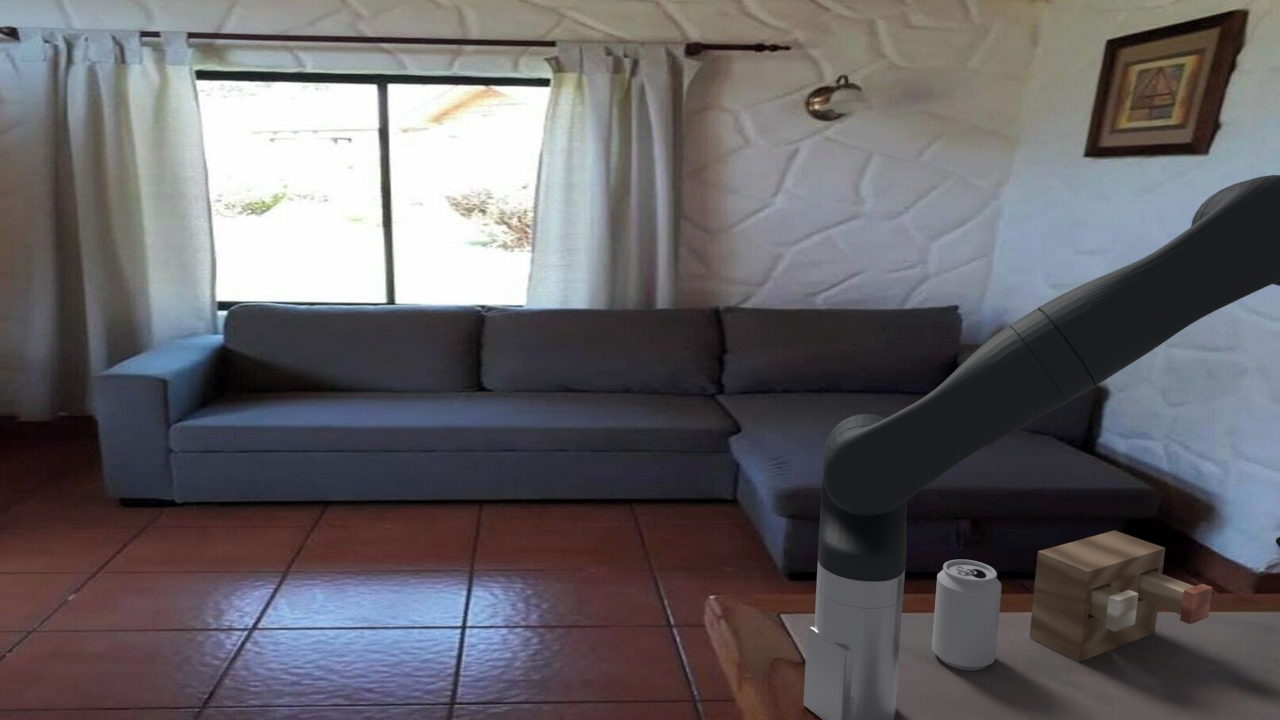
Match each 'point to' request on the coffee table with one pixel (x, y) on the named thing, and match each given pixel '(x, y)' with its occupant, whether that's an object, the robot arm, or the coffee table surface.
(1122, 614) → the key cream
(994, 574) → the can
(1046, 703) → the coffee table surface
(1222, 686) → the coffee table surface
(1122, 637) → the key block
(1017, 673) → the coffee table surface
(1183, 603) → the key red
